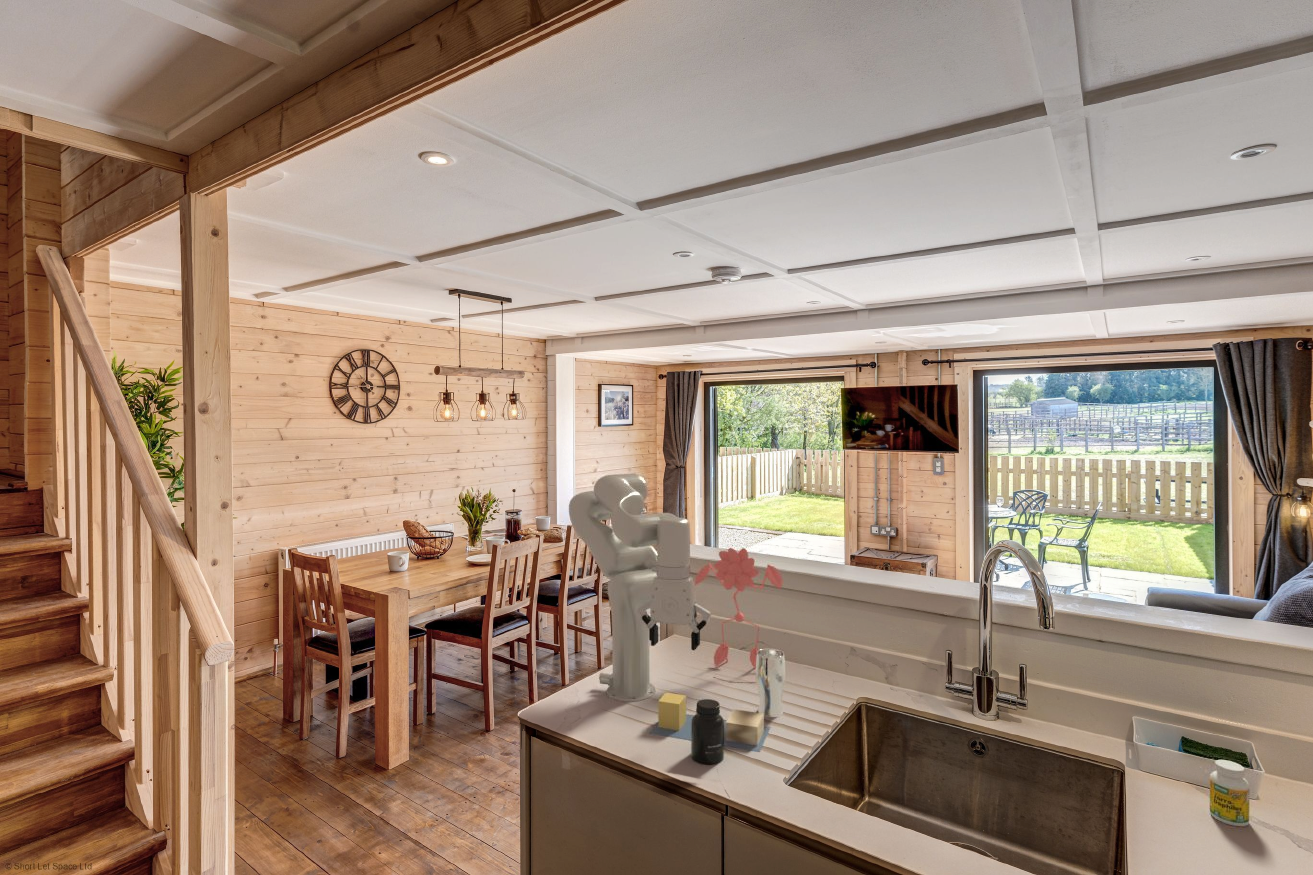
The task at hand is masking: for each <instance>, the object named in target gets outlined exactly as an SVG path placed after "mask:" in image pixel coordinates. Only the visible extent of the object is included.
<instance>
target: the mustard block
mask: <svg viewBox="0 0 1313 875" xmlns="http://www.w3.org/2000/svg"><path fill="white" fill-rule="evenodd" d="M657 705H658V706H657V708H658V710H657V711H658V714H657V715H658V721H657V723H658V726H659V727H661V728H667V729H673V730H680V729H681V727H682V726H683V725H684V723H685V722H686V714H687V695H684V694H677V693H671V692H665V693H664V694H663V695H662V696H661V698H659V700H658V701H657Z"/></svg>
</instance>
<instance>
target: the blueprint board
mask: <svg viewBox="0 0 1313 875" xmlns="http://www.w3.org/2000/svg"><path fill="white" fill-rule="evenodd" d="M694 715H695V714H690V713H689V714H688V713H686V722H685V723H684V725H683V726H682V727H681V729H680V730H673V729H667V728H661V727H659V726H658V722H656V724H655V725H654V726H653V728H652V729H651V730H650V731H649V733H648V734H650V735H657V736H662V737H668V738H675V739H680V740H686V741H691V724H692V718H693V716H694ZM726 721H727V720H726V719H724V747H727V748H733V749H740V750H746V751H752V752H756V753H760V752H761V750H762V748H763V745H764V743H765V740H766V739H767V736H768V734H769V732H770V730H771V726H765V725H764V732H763V734H762V737H761V739H760V741H759V743H758V746H757V745H751V744H745V743H739V742H733V741H727V740H726Z"/></svg>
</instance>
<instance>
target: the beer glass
mask: <svg viewBox="0 0 1313 875" xmlns="http://www.w3.org/2000/svg"><path fill="white" fill-rule="evenodd" d="M755 677H756V678H755V680H756V686H757V689H758V690H757V691H758V699H759V700H758V702H759V703H758V709H757V713H763V714H764V717H766V718H778V717H781V716H782V715H784V710H783V701H782V700H783V699H782V698H783V692H784V686H785V681H786V659H785V652H784V651H783V650H780V649H777V648H770V647H768V648H767V647H766V648H760V649H759V650H758V651H757V657H756V669H755Z"/></svg>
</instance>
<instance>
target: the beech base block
mask: <svg viewBox="0 0 1313 875" xmlns="http://www.w3.org/2000/svg"><path fill="white" fill-rule="evenodd" d="M764 726H765V716H764V714H763V713H758V712H755V711H750V710H748V711H747V710H742V709H736V708H733V709H732V711H731V713H730V714H729V716H728V717H727V721H726V740H727V741H733V742H739V743H745V744H751V745H757V746H758V743H759V741H760V739H761V737H762V734H763V732H764Z"/></svg>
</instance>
